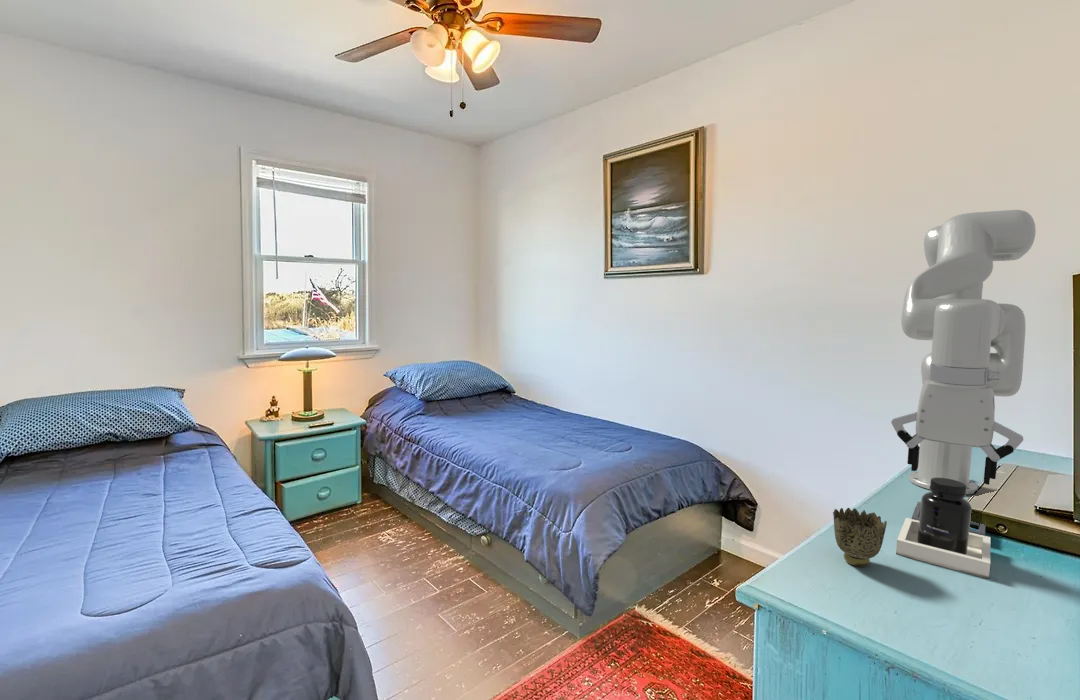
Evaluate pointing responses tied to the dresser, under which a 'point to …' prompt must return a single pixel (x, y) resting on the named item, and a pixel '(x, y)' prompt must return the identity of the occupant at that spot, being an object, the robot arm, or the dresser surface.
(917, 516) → the frame
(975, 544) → the white square tray
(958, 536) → the supplement bottle
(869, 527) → the olive rounded textured piece
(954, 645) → the dresser surface
